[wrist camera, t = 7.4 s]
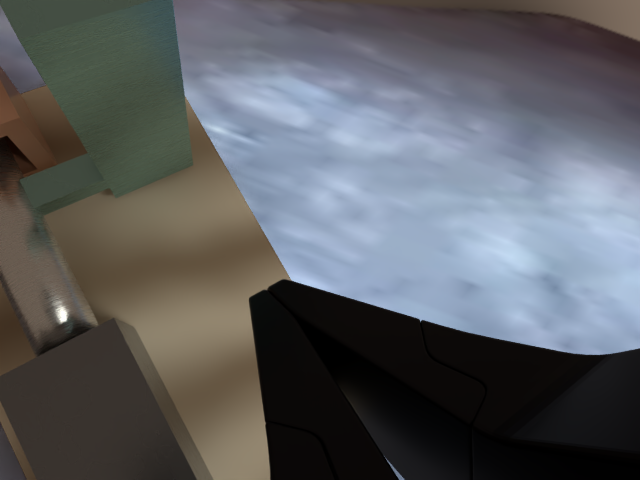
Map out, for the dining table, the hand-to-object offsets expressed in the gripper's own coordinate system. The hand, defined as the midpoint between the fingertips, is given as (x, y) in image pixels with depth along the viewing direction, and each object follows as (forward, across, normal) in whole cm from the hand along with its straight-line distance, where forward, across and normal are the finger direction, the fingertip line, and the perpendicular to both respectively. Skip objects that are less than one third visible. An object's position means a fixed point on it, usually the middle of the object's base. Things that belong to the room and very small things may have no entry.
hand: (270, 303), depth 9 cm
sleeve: (+8, +6, +10) cm, 14 cm away
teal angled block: (+14, +3, +3) cm, 14 cm away
